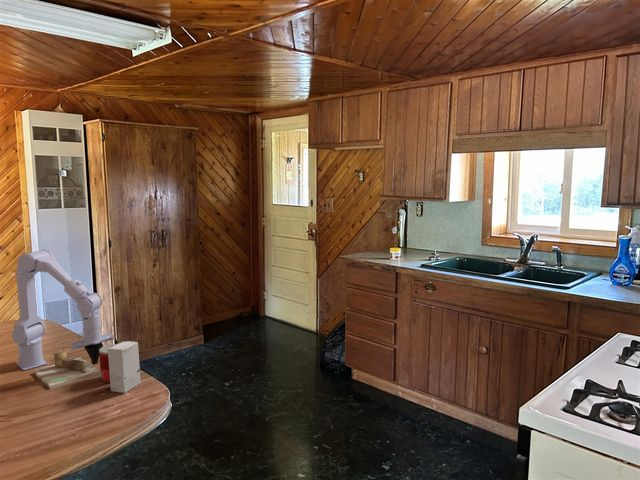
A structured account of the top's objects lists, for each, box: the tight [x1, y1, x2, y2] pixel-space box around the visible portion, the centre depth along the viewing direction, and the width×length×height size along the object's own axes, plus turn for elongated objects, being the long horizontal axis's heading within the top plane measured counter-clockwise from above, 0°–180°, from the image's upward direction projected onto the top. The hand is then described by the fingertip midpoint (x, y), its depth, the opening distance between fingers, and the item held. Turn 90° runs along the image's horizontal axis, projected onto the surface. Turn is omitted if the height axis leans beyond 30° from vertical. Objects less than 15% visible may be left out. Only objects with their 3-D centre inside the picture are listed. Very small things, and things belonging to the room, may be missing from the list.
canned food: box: [99, 343, 117, 384], centre depth 162 cm, size 8×8×11 cm
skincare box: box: [108, 340, 142, 394], centre depth 155 cm, size 8×6×15 cm
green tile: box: [50, 376, 67, 382], centre depth 160 cm, size 5×3×1 cm, turn 114°
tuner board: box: [33, 356, 101, 390], centre depth 167 cm, size 18×16×1 cm
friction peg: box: [53, 349, 91, 372], centre depth 168 cm, size 15×4×5 cm, turn 68°
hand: (94, 363), depth 170 cm, fingers closed
